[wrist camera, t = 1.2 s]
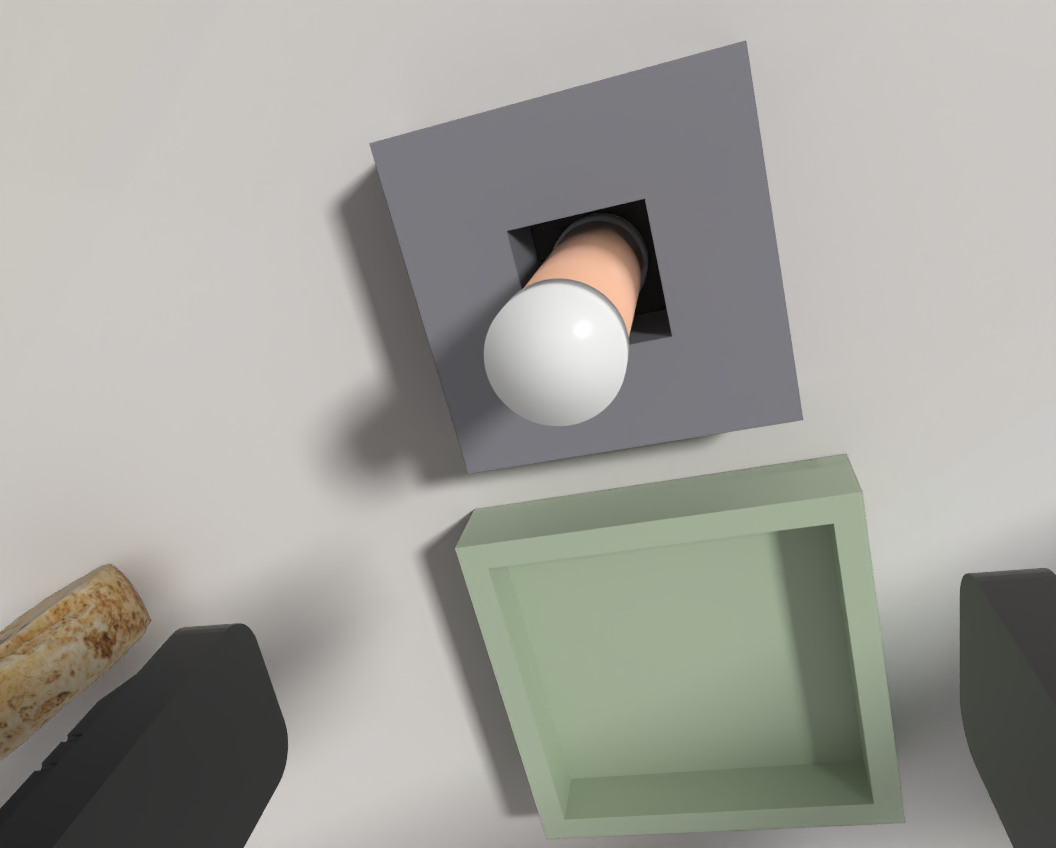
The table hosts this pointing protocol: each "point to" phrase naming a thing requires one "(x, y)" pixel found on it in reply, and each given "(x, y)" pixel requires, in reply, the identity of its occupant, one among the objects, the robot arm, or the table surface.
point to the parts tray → (691, 652)
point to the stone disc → (64, 649)
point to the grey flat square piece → (586, 185)
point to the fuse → (570, 325)
